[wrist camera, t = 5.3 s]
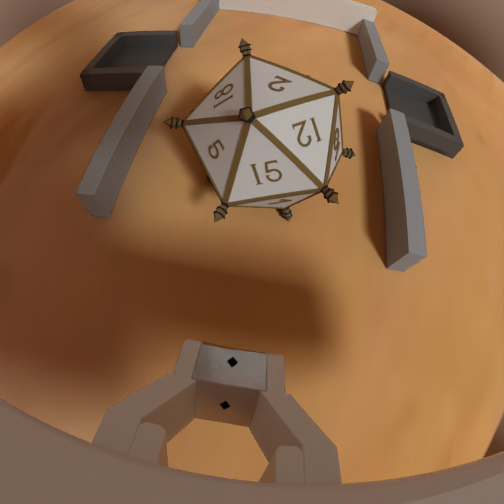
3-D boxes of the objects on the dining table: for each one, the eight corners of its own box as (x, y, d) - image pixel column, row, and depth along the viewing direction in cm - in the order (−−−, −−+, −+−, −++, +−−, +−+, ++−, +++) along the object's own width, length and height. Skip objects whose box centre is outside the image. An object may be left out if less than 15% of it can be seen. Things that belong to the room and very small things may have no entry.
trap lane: (19, 203, 16) (-11, 170, 12) (162, 4, 27) (160, -22, 23) (474, 285, 17) (514, 265, 13) (411, 50, 27) (423, 27, 24)
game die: (229, 196, 21) (185, 59, 16) (351, 177, 19) (325, 27, 14) (197, 286, 14) (108, 77, 9) (382, 265, 12) (356, 11, 7)
